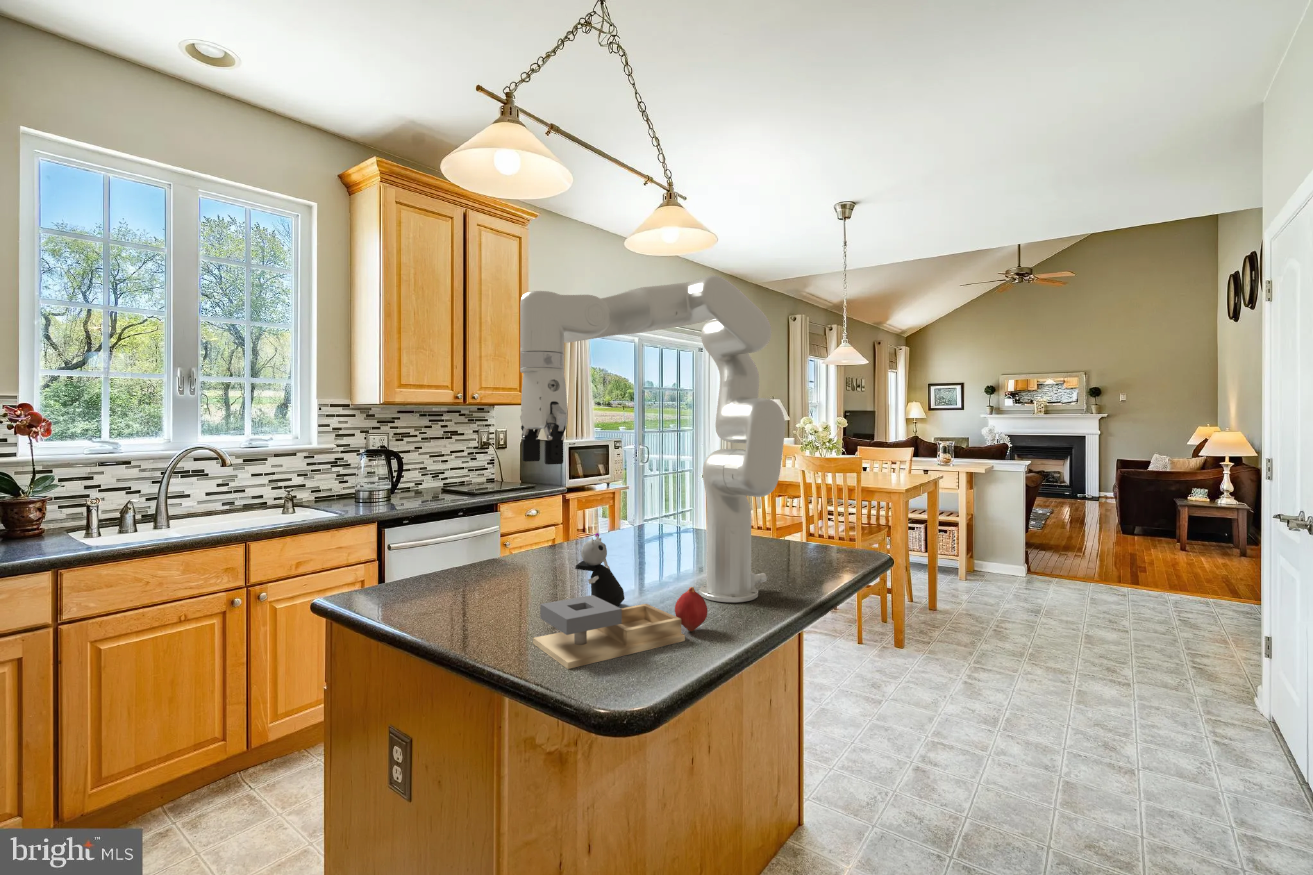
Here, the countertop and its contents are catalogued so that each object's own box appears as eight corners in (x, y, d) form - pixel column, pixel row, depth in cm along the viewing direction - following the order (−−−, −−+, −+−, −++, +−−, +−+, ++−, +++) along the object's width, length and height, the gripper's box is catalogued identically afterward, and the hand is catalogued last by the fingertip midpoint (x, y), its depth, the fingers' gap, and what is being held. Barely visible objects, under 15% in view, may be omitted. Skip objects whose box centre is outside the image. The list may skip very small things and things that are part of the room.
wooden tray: (643, 620, 116) (643, 591, 116) (684, 640, 106) (684, 608, 106) (533, 643, 104) (533, 611, 104) (567, 669, 93) (567, 632, 93)
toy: (619, 614, 117) (595, 538, 117) (586, 623, 118) (562, 548, 119) (633, 597, 128) (612, 528, 129) (603, 606, 129) (582, 537, 130)
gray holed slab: (592, 608, 108) (592, 595, 108) (621, 623, 100) (621, 608, 100) (540, 618, 103) (540, 603, 103) (566, 634, 95) (566, 619, 95)
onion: (669, 628, 112) (669, 584, 112) (697, 624, 115) (698, 581, 114) (683, 638, 107) (683, 592, 107) (712, 633, 109) (713, 588, 109)
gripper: (584, 361, 103) (584, 464, 103) (542, 369, 117) (542, 459, 118) (542, 358, 99) (542, 466, 99) (503, 367, 113) (503, 460, 113)
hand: (542, 462), depth 108 cm, fingers open, 9 cm apart
